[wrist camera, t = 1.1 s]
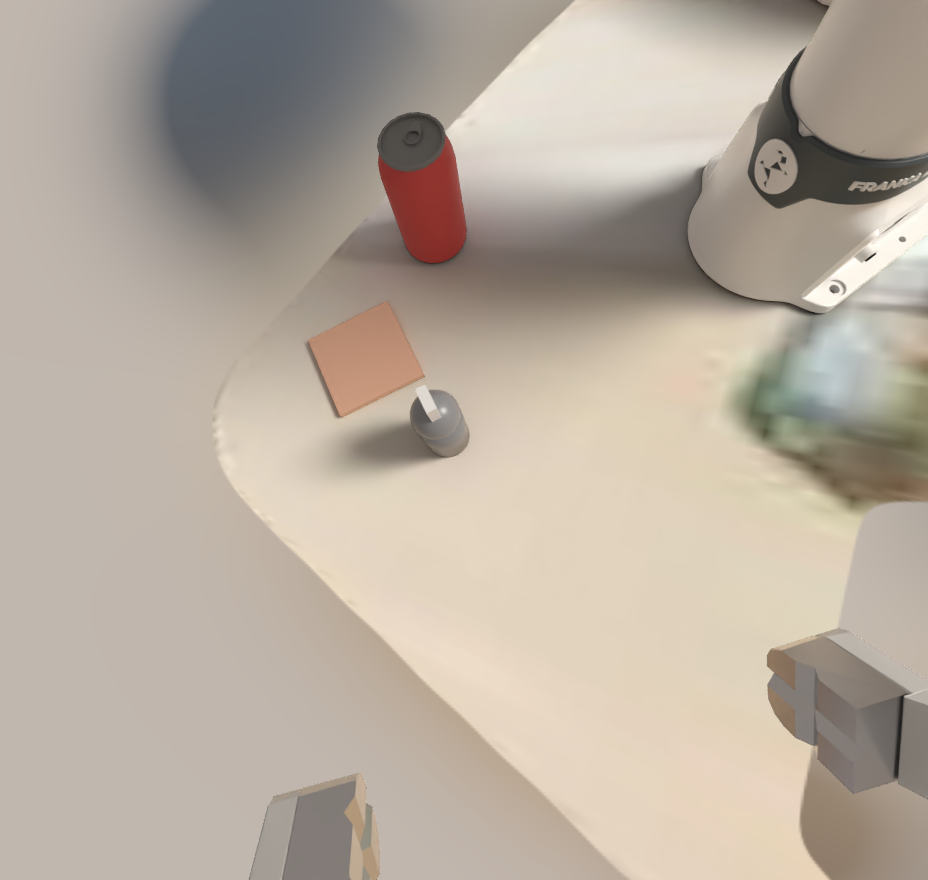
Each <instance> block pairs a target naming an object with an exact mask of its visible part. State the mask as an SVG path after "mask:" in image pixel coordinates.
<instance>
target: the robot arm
mask: <svg viewBox="0 0 928 880" xmlns="http://www.w3.org/2000/svg"><path fill="white" fill-rule="evenodd" d="M768 99H769V100H768V101H767V102H765V103H760V104H758V105H757V106H756V107H755V108H754V109H753V110H752V112H751V113H750V115H749V116H748V118H747V119H746V121H745V122H744V124H743V125H742V127H741V128H740V130H739V131H738V133H737V134H736V136H735V137H734V139H733V141H732V142H731V144H730V145H729V147H728V148H727V150H726V151H725V153H724V154H723V155H719V156H716V157H714V158H712V159H711V160H710V161H709V162H708V164H707V165H706V167H705V169H704V171H703V175H702V192H701V194H700V196H699V198H698V200H697V202H696V203H695V205H694V207H693V209H692V211H691V214H690V217H689V222H688V240H689V245H690V248H691V251H692V253H693V255H694V258H695V259H696V261H697V263H698V264H699V266H700V267H701V268H702V269H703V271H704V272H705V273H706V274H707V275H708V276H709V277H710V278H712V279H713V280H714V281H715V282H717V283H718V284H720V285H721V286H723V287H724V288H726V289H728V290H730V291H732V292H734V293H737V294H739V295H742V296H745V297H749V298H753V299H758V300H767V301H782V302H788V303H792V304H794V305H796V306H798V307H801V308H803V309H806V310H809V311H812V312H815V313H826V312H829V311H830V310H832V309H833V308H834V307H836V306H837V305H838V304H839V303H841V302H842V301H843V300H845V299H846V298H847V297H848V296H850V295H851V294H852V293H854V292H855V291H856V290H857V289H859V288H860V287H861V286H863V285H864V284H865V283H866V282H868V281H869V280H870V279H872V278H873V277H874V276H875V275H877V274H878V273H879V272H880V271H882V270H883V269H884V268H886V267H887V266H888V265H889V264H891V263H892V262H893V261H895V260H896V259H897V258H898V257H900V256H901V255H902V254H904V253H905V252H906V251H907V250H909V249H910V248H911V247H913V246H914V245H915V244H916V243H918V242H919V241H920V240H922V239H923V238H924V237H925V236H927V235H928V0H833V1H832V2H831V4H830V6H829V8H828V10H827V12H826V14H825V15H824V17H823V19H822V21H821V23H820V25H819V26H818V28H817V30H816V32H815V33H814V35H813V37H812V39H811V40H810V42H809V44H808V46H806V47H805V48H804V49H803V50H802V51H800V52H799V54H798V55H797V56H796V57H795V58H794V59H793V61H792V62H791V63H790V65H789V66H788V68H787V70H786V71H785V72H784V73H783V74H782V76H781V77H780V78H779V80H778V82H777V83H776V85H775V87H774V88H773V90H772V92H771V94H770V96H769V98H768ZM829 289H830V290H832V291H833V292H834V293H832V292H830V290H829ZM767 666H768V667H769V668H770V669H771V670H772V671H773V672H774V674H773V676H772V678H771V679H770V681H769V683H768V685H767V686H768V699H769V701H770V704H771V706H772V708H773V710H774V713H775V715H776V716H777V717H778V719H779V720H780V722H781V723H782V724H783V726H784V727H785V728H786V729H787V730H788V731H789V732H790V733H791V734H792V735H793V736H794V737H795V738H797V739H799V740H801V741H804V742H806V743H808V744H810V745H813V746H814V749H815V752H816V756H817V759H818V760H819V761H820V762H821V763H822V764H823V765H824V766H825V767H826V768H827V769H828V770H829V771H830V772H831V773H832V774H833V775H834V776H835V777H836V778H837V779H838V780H839V781H840V782H841V783H842V784H843V785H844V786H846V787H847V788H848V789H849V790H850V791H851V792H852V793H853V794H855V793H858V792H861V791H864V790H868V789H871V788H875V787H878V786H881V785H884V784H888V783H891V782H894V781H897V780H898V784H899V785H901V786H903V787H905V788H907V789H909V790H911V791H912V792H914V793H916V794H918V795H920V796H922V797H924V798H926V799H928V680H927V679H925V678H924V677H922V676H920V675H919V674H917V673H916V672H914V671H912V670H911V669H909V668H908V667H906V666H904V665H903V664H901V663H900V662H898V661H896V660H895V659H893V658H892V657H890V656H888V655H887V654H885V653H883V652H882V651H881V650H879V649H877V648H876V647H874V646H873V645H871V644H869V643H868V642H866V641H865V640H863V639H861V638H860V637H858V636H857V635H855V634H853V633H852V632H850V631H847V630H844V629H841V628H838V629H834V630H831V631H828V632H825V633H821V634H818V635H816V636H811V637H807V638H804V639H801V640H798V641H795V642H792V643H788V644H785V645H782V646H779V647H776V648H772V649H771V650H770V651H769V653H768V655H767ZM379 874H380V851H379V839H378V829H377V824H376V819H375V815H374V811H373V808H372V806H370V805H368V804H367V803H366V785H365V782H364V779H363V776H362V774H361V773H357V774H353V775H350V776H346V777H342V778H339V779H334V780H331V781H327V782H323V783H320V784H316V785H313V786H308V787H305V788H303V789H299V790H296V791H292V792H289V793H285V794H281V795H277V796H274V797H273V799H272V801H271V802H270V804H269V806H268V808H267V812H266V816H265V819H264V823H263V827H262V831H261V835H260V838H259V842H258V846H257V850H256V854H255V858H254V861H253V865H252V869H251V873H250V877H249V880H377V877H378V876H379Z"/></svg>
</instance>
